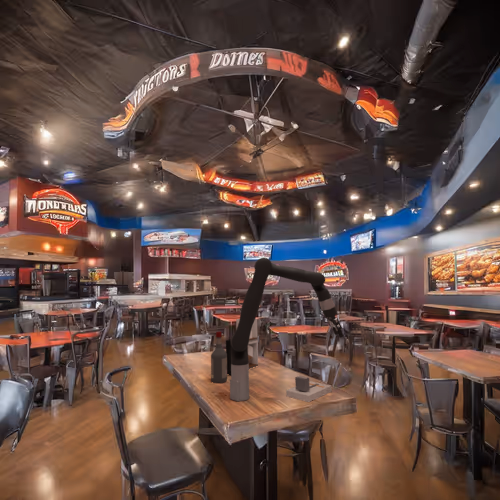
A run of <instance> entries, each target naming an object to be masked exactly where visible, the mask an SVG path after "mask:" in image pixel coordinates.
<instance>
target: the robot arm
mask: <svg viewBox="0 0 500 500" xmlns="http://www.w3.org/2000/svg"><path fill="white" fill-rule="evenodd" d="M253 267H254V273H253V277H252V280H251V283H250V285H249V286H248V288H247V290H246V293H245V296H244V298H243V302H242V304H241V308H240V313H239V319H240V320H239V324H238V327H237V329H236V330H235V332H234V333H233V334H232V335H231V336H230V339H231V375H230V376H231V377H230V379H229V399H230V400H232V401H235V402H243V401H247V400H249V399H250V376H249V375H250V372H249V371H250V370H249V359H248V343H249V338H250V333H251V329H252V325H253V323H254V321H255V319H257V315H258V312H259V311H260V306H261V303H262V299H263V294H264V291H265V286H266V283H267V280H268V278H269V276H273V277H280V278H284V279H288V280H291V281H295V282H298V283H306V284H307V283H308V284H310V285H311V288H312V289H313V292H314V293H315V294H316V297H317V300H318V302H319V307H320V308H321V312H322V314H323V316H324V318H325V319H327V321H328V324H329V327H330V328H331V329H332V330H333V333H334V335H335V336H336V335H338V338H344V334H343V331H342V329H343V327H342V325H341V323H340V320H339V318H338V317H336V315H338V312H339V311H338V310H337V307H336V305H335V303H334V301H333V299H332V295H331V294H330V291H329V289H328V288H326V286H325V283H326V277H325V275H324V274H322V273H321V272H318V271H311V270H305V269H301V268H298V267H294V266H293V267H292V266H291V267H290V266H283V265H278V264H276V263H272V261H271V259H269V258H268V257H261V258H259V259H257V261H256V262H255V263H254V266H253Z"/></svg>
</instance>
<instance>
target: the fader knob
mask: <svg viewBox="0 0 500 500" xmlns="http://www.w3.org/2000/svg"><path fill="white" fill-rule="evenodd" d="M294 379H295V380H294V382H295V383H294V384H295V387H296V389H297V390H301V391H305V392H306V391H308V390H310V387H309V381H310V377H308V376H302V375H297V376H295V377H294Z"/></svg>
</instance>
